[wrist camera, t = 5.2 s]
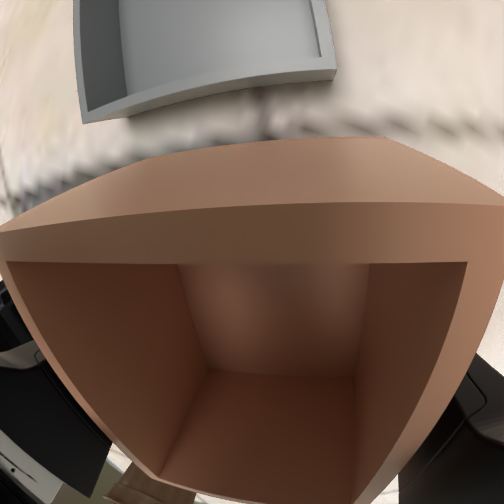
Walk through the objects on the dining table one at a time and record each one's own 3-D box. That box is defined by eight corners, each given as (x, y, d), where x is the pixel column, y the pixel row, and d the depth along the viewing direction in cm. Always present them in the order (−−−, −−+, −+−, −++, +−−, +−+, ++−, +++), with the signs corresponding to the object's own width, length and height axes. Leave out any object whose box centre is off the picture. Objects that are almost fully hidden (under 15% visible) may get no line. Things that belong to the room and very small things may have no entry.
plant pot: (123, 433, 47) (91, 492, 33) (161, 428, 39) (122, 506, 25) (183, 470, 50) (159, 526, 36) (231, 469, 43) (207, 540, 29)
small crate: (204, 364, 12) (151, 478, 7) (149, 157, 9) (-15, 235, 3) (365, 373, 11) (363, 509, 5) (384, 136, 7) (519, 207, 2)
